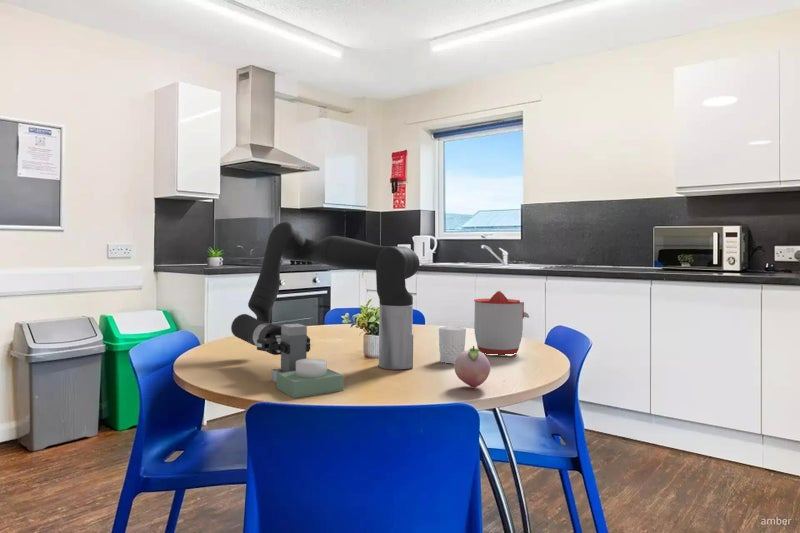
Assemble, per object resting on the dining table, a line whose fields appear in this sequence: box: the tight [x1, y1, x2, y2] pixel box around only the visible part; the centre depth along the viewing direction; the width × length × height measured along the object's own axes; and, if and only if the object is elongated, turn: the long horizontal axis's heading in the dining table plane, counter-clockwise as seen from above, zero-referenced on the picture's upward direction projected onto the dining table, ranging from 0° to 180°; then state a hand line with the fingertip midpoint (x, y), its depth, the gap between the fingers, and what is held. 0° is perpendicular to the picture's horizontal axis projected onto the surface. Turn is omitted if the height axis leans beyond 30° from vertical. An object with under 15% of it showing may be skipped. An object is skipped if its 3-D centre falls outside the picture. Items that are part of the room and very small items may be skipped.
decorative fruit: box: [453, 345, 491, 388], centre depth 125 cm, size 9×8×10 cm
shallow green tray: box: [270, 357, 345, 399], centre depth 125 cm, size 18×12×6 cm, turn 35°
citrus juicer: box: [473, 290, 530, 355], centre depth 168 cm, size 16×17×20 cm
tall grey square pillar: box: [280, 323, 308, 372], centre depth 129 cm, size 5×4×12 cm
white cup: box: [438, 325, 467, 364], centre depth 155 cm, size 8×8×10 cm
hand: (298, 348), depth 126 cm, fingers closed on tall grey square pillar, 4 cm apart
